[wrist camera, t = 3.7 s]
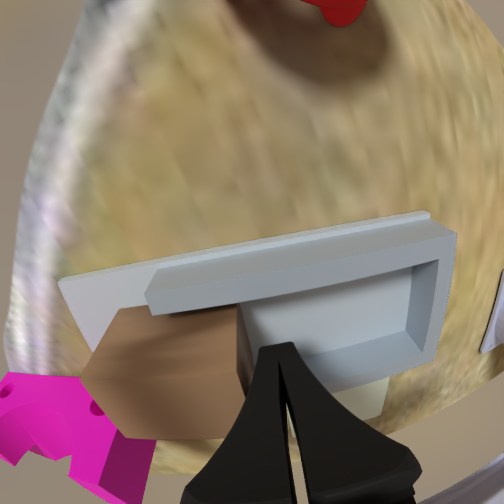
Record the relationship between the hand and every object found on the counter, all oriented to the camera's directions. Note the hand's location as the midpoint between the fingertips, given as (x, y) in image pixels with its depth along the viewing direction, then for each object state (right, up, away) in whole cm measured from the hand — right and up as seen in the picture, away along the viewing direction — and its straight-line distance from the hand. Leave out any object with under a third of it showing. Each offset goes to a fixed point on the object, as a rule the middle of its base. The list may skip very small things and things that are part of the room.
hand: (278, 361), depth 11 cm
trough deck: (-1, +1, +3) cm, 4 cm away
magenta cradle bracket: (-14, -7, +6) cm, 17 cm away
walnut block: (-4, 0, +3) cm, 5 cm away
